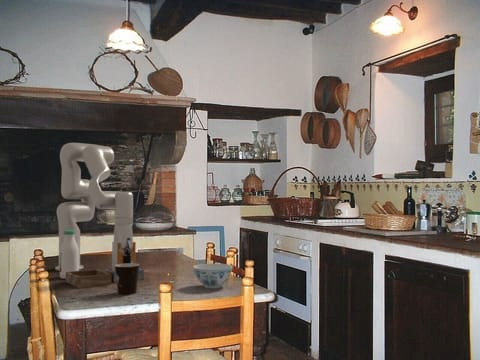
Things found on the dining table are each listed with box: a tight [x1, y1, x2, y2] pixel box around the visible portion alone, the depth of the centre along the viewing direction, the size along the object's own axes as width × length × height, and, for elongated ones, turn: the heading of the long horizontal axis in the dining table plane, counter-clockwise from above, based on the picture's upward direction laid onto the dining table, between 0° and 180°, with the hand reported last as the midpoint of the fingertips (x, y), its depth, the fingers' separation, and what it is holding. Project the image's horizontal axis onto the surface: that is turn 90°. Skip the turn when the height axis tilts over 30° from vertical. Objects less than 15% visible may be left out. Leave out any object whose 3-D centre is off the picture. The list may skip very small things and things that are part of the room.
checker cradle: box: [103, 267, 145, 283], centre depth 207 cm, size 11×13×4 cm
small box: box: [111, 241, 137, 272], centre depth 208 cm, size 8×6×13 cm
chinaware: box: [193, 263, 233, 289], centre depth 190 cm, size 15×15×8 cm
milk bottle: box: [59, 230, 80, 280], centre depth 212 cm, size 8×8×20 cm
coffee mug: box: [115, 263, 140, 296], centre depth 177 cm, size 12×9×10 cm
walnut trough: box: [65, 268, 112, 289], centre depth 198 cm, size 16×13×4 cm
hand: (123, 264), depth 207 cm, fingers closed on small box, 6 cm apart
